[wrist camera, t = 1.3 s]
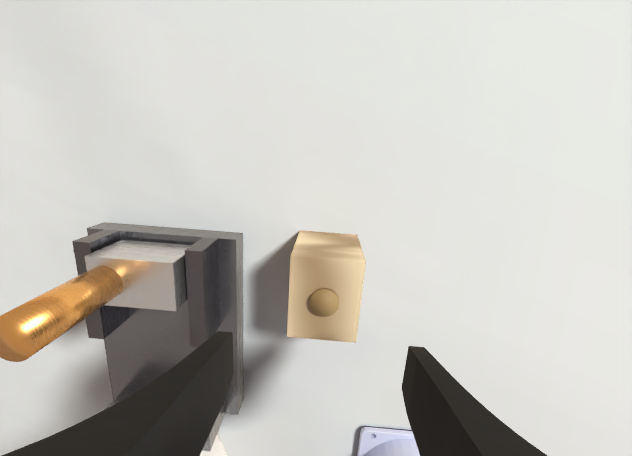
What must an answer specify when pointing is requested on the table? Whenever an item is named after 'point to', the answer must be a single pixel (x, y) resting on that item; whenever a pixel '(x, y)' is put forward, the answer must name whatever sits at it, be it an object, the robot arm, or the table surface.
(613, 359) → the table surface
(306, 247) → the light wooden block
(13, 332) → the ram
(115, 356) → the press frame
